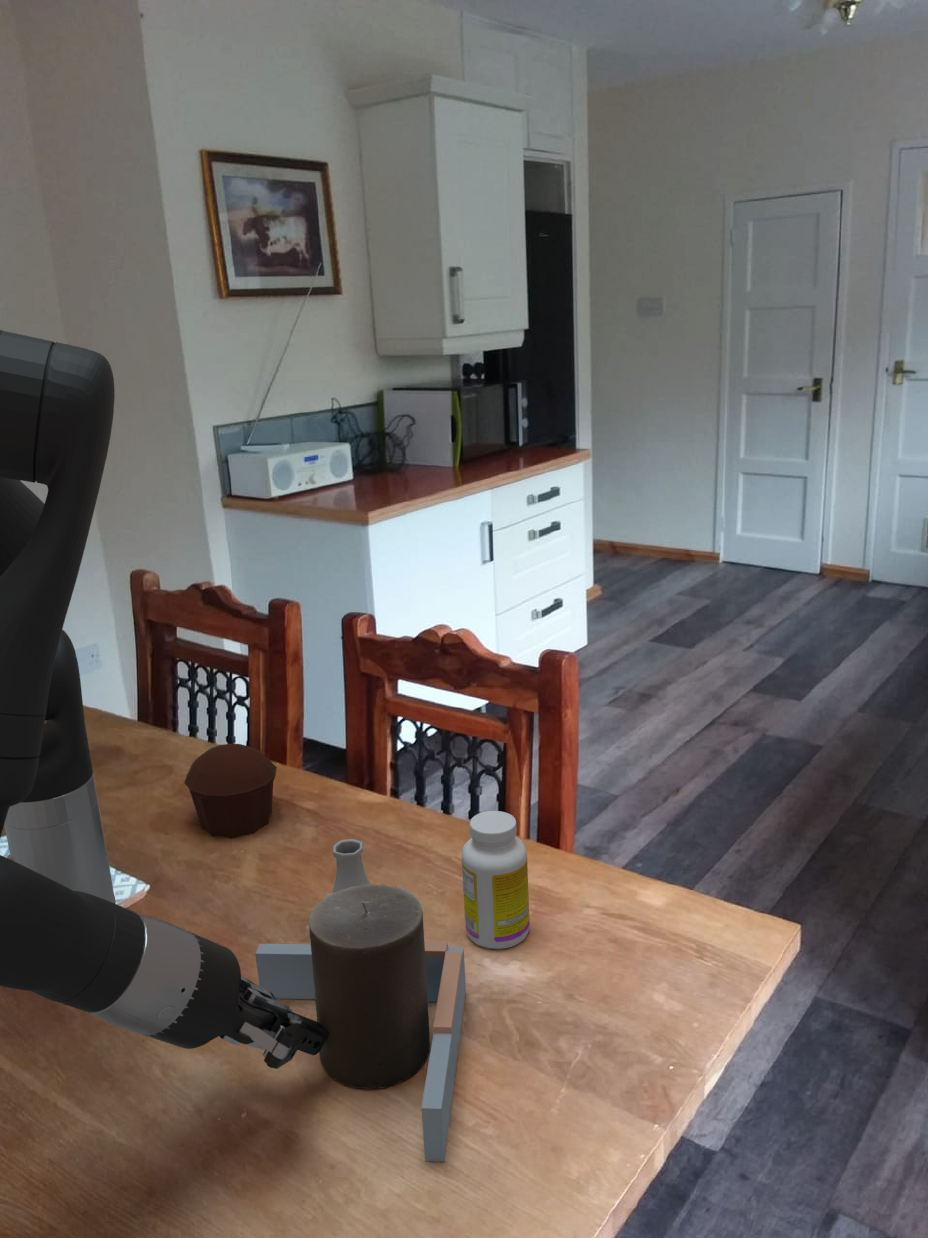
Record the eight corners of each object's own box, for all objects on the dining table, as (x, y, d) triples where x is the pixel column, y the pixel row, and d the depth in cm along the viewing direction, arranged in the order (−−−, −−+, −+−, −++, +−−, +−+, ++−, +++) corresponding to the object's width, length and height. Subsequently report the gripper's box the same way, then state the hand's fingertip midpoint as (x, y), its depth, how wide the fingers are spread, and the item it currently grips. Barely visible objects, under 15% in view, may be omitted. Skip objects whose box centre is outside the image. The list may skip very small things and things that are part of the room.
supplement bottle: (539, 921, 103) (536, 812, 100) (515, 958, 98) (511, 844, 94) (481, 908, 106) (476, 801, 102) (454, 943, 101) (448, 831, 97)
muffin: (300, 813, 128) (292, 743, 125) (239, 852, 120) (229, 778, 117) (234, 793, 135) (226, 725, 132) (172, 829, 126) (161, 757, 123)
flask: (378, 955, 99) (371, 868, 96) (310, 948, 101) (301, 862, 98) (397, 913, 106) (391, 830, 103) (333, 908, 108) (325, 826, 105)
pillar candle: (385, 1107, 80) (375, 949, 76) (296, 1062, 85) (281, 912, 81) (452, 1036, 88) (446, 888, 83) (366, 998, 93) (356, 858, 89)
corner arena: (195, 1152, 76) (186, 1094, 75) (265, 988, 95) (259, 938, 93) (444, 1162, 75) (440, 1102, 73) (465, 992, 93) (463, 941, 92)
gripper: (232, 976, 67) (389, 1039, 78) (153, 896, 77) (303, 963, 88) (168, 1078, 66) (337, 1128, 76) (96, 983, 75) (255, 1040, 86)
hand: (318, 1040), depth 82 cm, fingers closed
